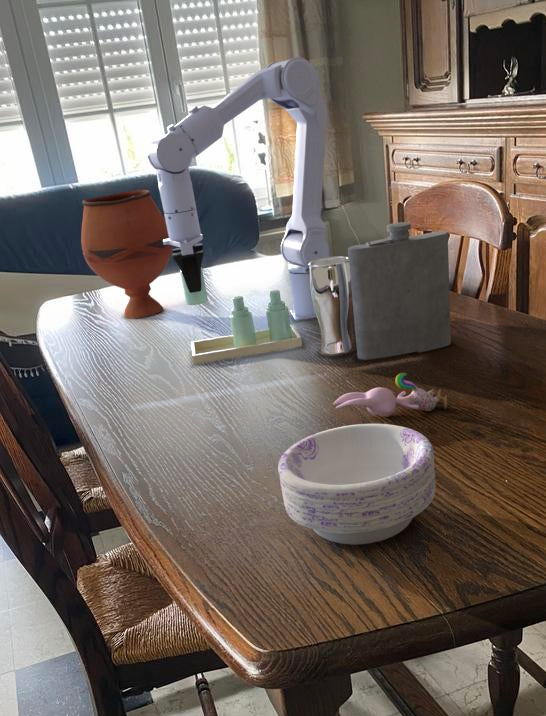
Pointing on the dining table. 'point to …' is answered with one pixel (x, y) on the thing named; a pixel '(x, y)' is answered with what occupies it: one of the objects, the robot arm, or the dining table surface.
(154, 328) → the dining table surface
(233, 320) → the bottle
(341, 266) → the beer glass
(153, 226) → the goblet
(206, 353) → the tray
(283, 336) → the bottle
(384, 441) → the paper bowls
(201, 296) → the loose bottle
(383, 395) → the rabbit figure
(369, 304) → the hip flask
